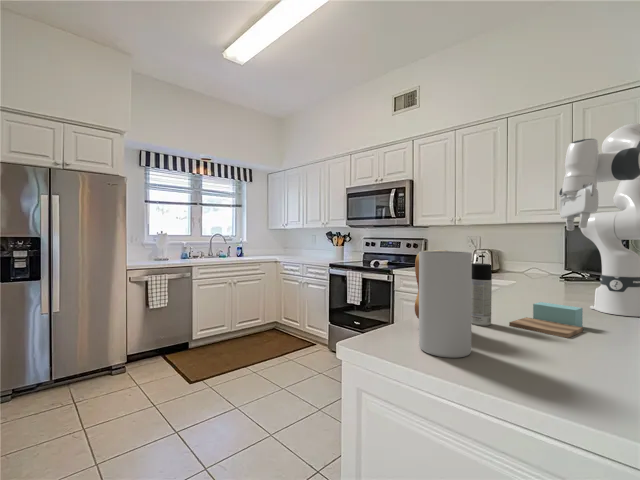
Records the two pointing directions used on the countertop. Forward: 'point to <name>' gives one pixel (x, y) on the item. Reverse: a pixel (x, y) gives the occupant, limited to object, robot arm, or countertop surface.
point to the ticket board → (547, 327)
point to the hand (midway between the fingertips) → (576, 229)
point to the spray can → (481, 294)
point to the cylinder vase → (445, 303)
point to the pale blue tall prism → (558, 313)
